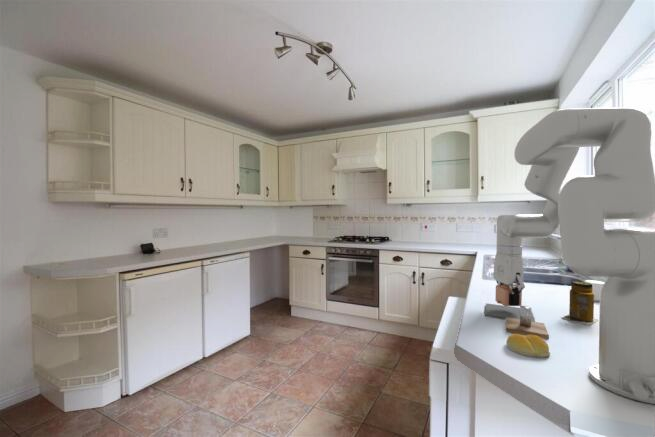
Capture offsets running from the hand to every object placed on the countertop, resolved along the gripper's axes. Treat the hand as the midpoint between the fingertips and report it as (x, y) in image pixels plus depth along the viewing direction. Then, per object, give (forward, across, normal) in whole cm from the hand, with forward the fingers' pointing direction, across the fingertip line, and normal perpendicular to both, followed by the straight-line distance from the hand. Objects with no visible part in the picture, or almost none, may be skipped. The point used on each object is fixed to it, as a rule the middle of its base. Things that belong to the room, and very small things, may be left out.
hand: (508, 302), depth 103 cm
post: (+3, +14, -3) cm, 15 cm away
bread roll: (+4, +27, -12) cm, 30 cm away
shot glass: (+4, -17, +46) cm, 49 cm away
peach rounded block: (0, 0, 0) cm, 0 cm away
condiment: (+4, +6, +20) cm, 21 cm away
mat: (+4, 0, 0) cm, 4 cm away
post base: (+4, +14, -4) cm, 15 cm away
